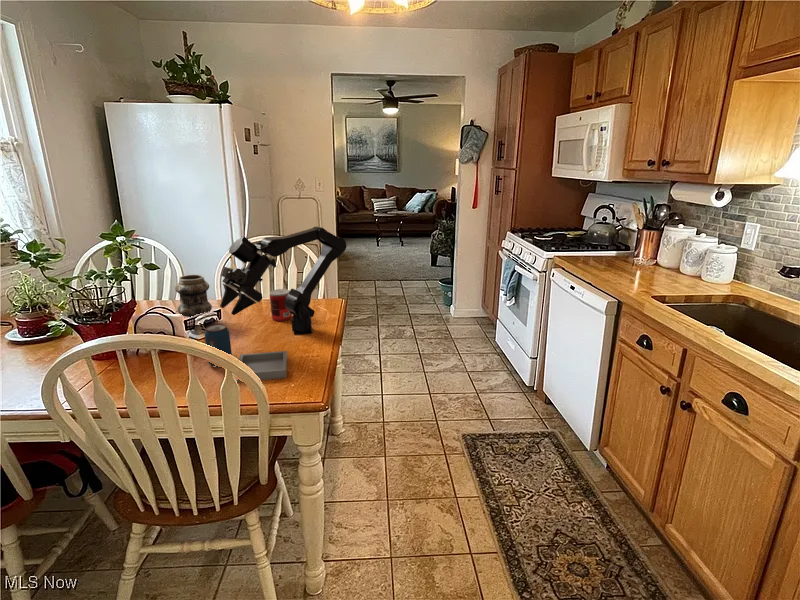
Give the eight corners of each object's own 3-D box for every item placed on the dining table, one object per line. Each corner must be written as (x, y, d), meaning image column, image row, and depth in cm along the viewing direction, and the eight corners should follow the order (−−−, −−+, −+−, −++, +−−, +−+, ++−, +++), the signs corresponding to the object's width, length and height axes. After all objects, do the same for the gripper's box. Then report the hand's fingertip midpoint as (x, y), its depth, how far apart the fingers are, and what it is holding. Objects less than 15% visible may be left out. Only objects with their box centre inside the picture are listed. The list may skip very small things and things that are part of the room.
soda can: (231, 357, 144) (227, 321, 141) (234, 365, 138) (229, 328, 135) (207, 361, 141) (202, 325, 138) (209, 370, 135) (204, 332, 132)
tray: (287, 358, 144) (286, 350, 143) (286, 378, 131) (285, 370, 130) (241, 361, 141) (240, 354, 140) (235, 382, 128) (234, 374, 127)
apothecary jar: (217, 322, 174) (212, 277, 169) (184, 329, 167) (177, 282, 161) (208, 314, 183) (202, 271, 178) (175, 321, 176) (169, 276, 170)
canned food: (294, 315, 183) (292, 288, 180) (289, 321, 176) (287, 294, 172) (275, 314, 183) (273, 288, 180) (269, 321, 176) (267, 294, 172)
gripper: (223, 252, 150) (195, 291, 146) (247, 261, 136) (217, 305, 133) (249, 270, 157) (223, 308, 154) (274, 281, 144) (246, 323, 141)
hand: (226, 310), depth 145 cm, fingers open, 9 cm apart
